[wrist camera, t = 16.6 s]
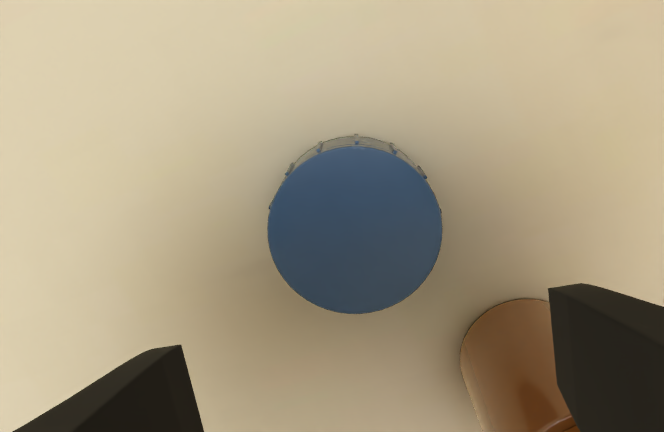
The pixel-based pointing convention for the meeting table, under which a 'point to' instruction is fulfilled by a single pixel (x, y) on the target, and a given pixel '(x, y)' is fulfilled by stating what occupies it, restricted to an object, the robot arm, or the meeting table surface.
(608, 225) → the meeting table surface
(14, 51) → the meeting table surface
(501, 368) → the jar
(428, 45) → the meeting table surface
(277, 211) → the lid
